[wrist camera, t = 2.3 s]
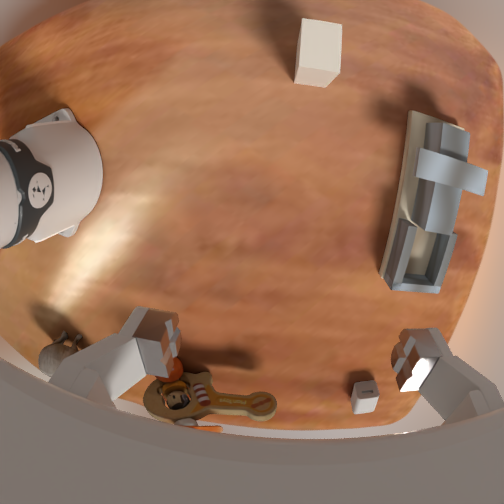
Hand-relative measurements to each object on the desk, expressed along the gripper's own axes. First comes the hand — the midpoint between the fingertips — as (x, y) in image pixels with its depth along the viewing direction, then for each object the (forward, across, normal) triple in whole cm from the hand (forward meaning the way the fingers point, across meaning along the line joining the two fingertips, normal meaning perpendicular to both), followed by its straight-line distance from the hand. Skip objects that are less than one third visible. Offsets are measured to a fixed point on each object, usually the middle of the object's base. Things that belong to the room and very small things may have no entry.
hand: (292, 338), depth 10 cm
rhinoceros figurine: (+23, +35, +32) cm, 53 cm away
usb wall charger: (+23, -18, +34) cm, 45 cm away
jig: (+25, -18, +1) cm, 30 cm away
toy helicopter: (+23, +9, +32) cm, 40 cm away
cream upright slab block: (+26, -2, -14) cm, 29 cm away
